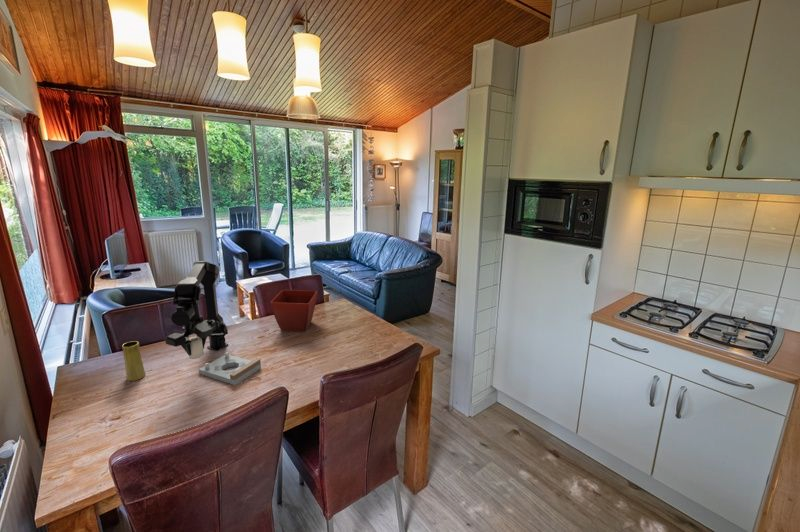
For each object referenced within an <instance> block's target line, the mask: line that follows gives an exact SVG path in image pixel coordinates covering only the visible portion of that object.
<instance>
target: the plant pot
mask: <svg viewBox="0 0 800 532" xmlns="http://www.w3.org/2000/svg"><path fill="white" fill-rule="evenodd" d="M317 297H318V291H317V290H301V289H299V290H298V289H282V290H281V291H279V293H278V294H276V296H275V297H274V298H273V299H272V300H271V301H270V306H271V309H272V313H273V316H274V319H275V321H276V323H277V325H278V328H279V329H280V331H283V332H284V331H285V332H287V331H288V332H306V330H307V329H308V328H309V326H310V324H311V322H312V320H313V316H314V312H315V309H316V303H317Z"/></svg>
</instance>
